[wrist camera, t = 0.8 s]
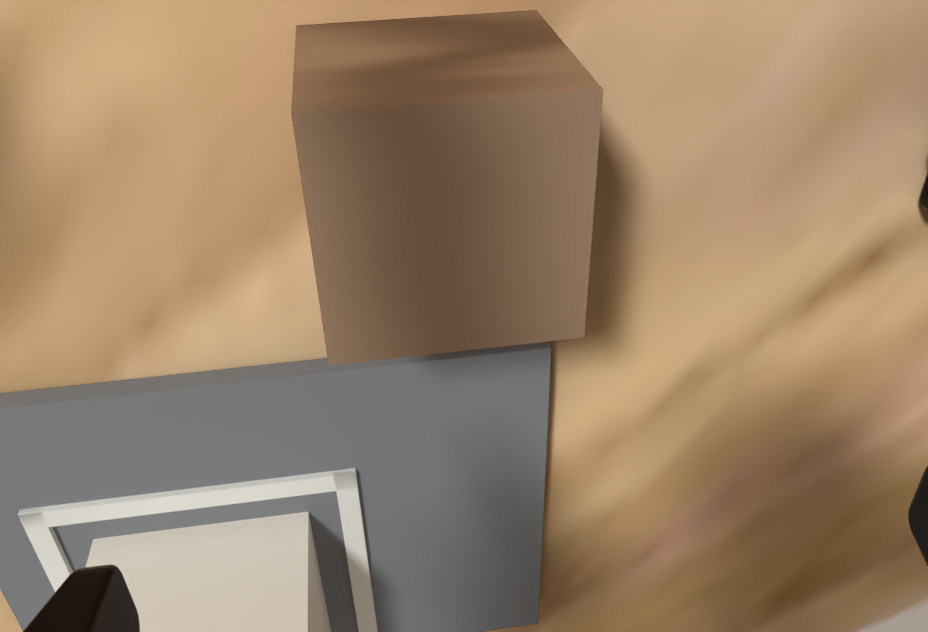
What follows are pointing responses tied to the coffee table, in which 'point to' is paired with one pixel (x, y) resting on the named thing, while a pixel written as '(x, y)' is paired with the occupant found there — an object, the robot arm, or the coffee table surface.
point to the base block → (222, 576)
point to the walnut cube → (446, 182)
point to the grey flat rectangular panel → (301, 478)
